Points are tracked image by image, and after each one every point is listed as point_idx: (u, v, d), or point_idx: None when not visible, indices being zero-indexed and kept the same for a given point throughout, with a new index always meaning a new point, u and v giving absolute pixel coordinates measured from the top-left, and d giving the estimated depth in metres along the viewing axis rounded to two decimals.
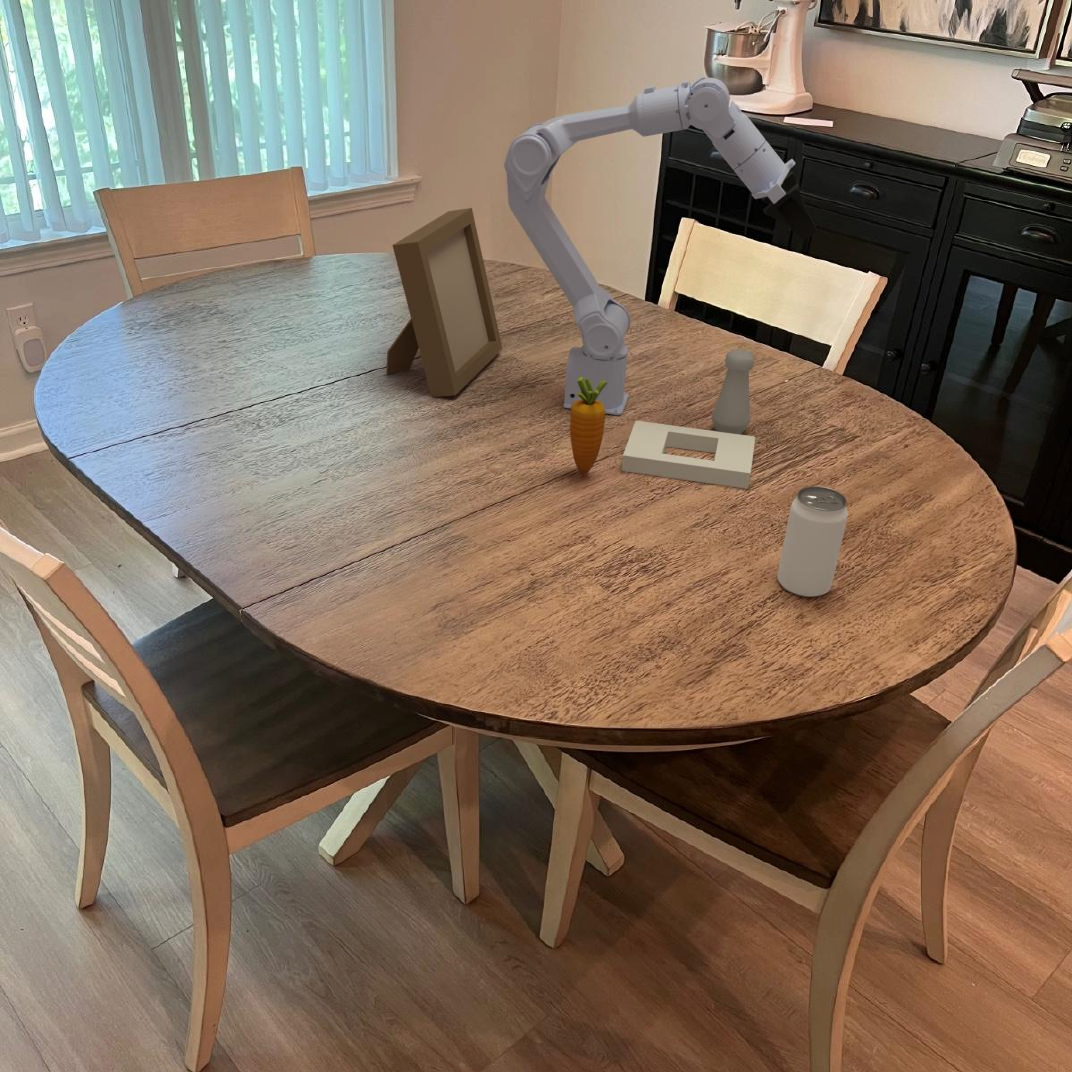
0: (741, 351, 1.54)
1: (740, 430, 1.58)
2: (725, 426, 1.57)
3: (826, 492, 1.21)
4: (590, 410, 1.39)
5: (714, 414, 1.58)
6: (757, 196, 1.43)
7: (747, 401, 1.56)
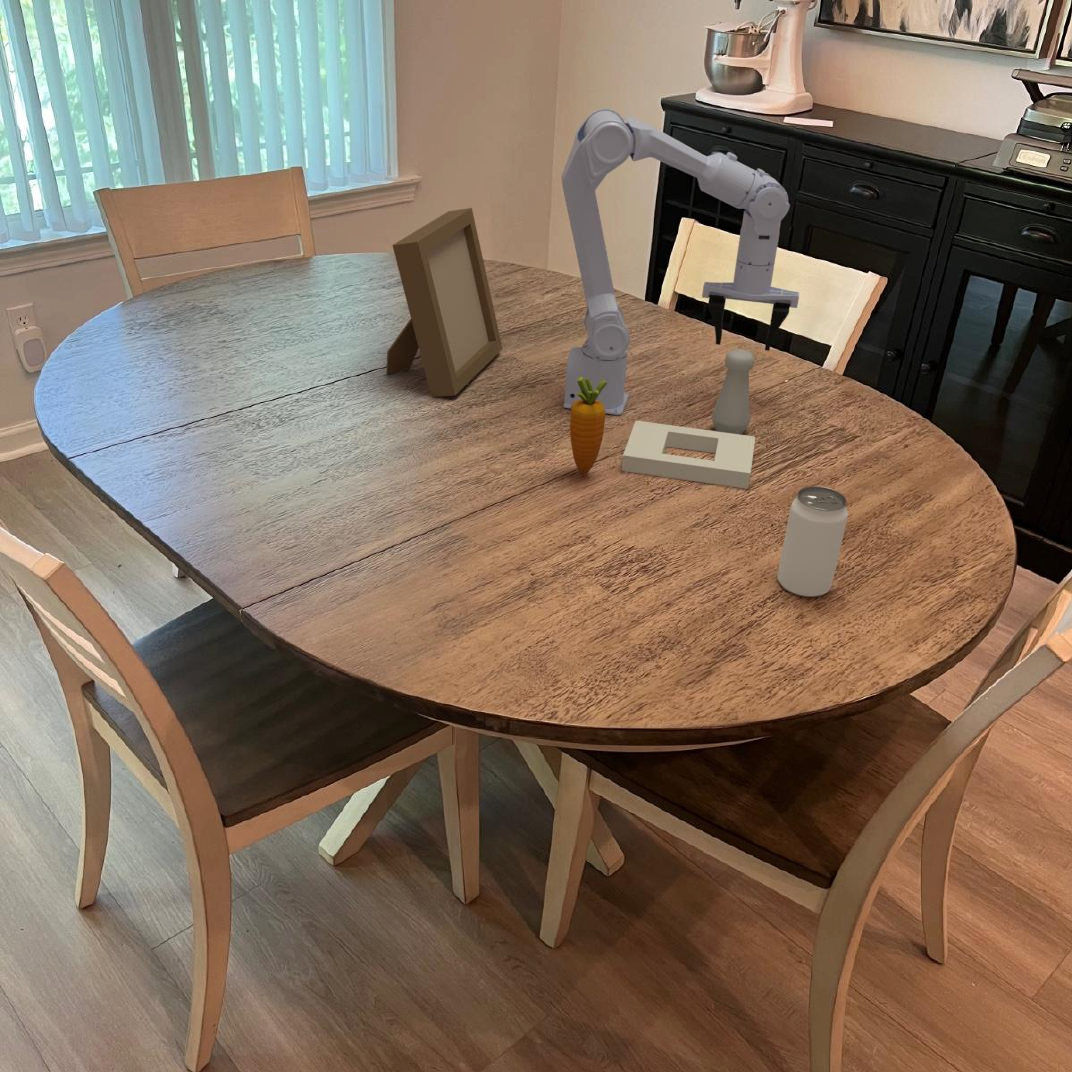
0: (741, 351, 1.54)
1: (740, 430, 1.58)
2: (725, 426, 1.57)
3: (826, 492, 1.21)
4: (590, 410, 1.39)
5: (714, 414, 1.58)
6: (765, 298, 1.56)
7: (747, 401, 1.56)
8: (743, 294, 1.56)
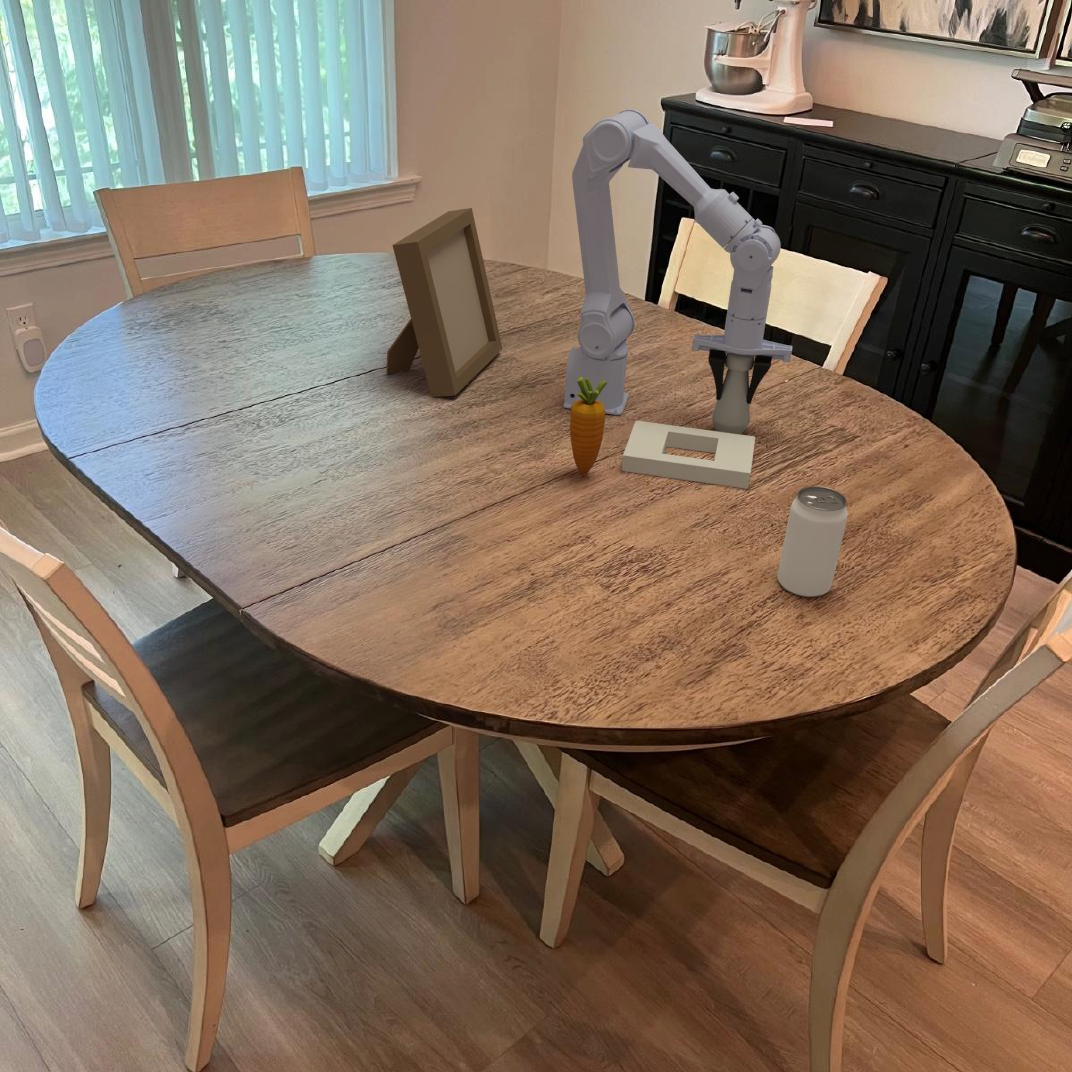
0: None
1: (740, 430, 1.58)
2: (725, 426, 1.57)
3: (826, 492, 1.21)
4: (590, 410, 1.39)
5: (714, 414, 1.58)
6: (757, 352, 1.51)
7: None
8: (734, 348, 1.51)
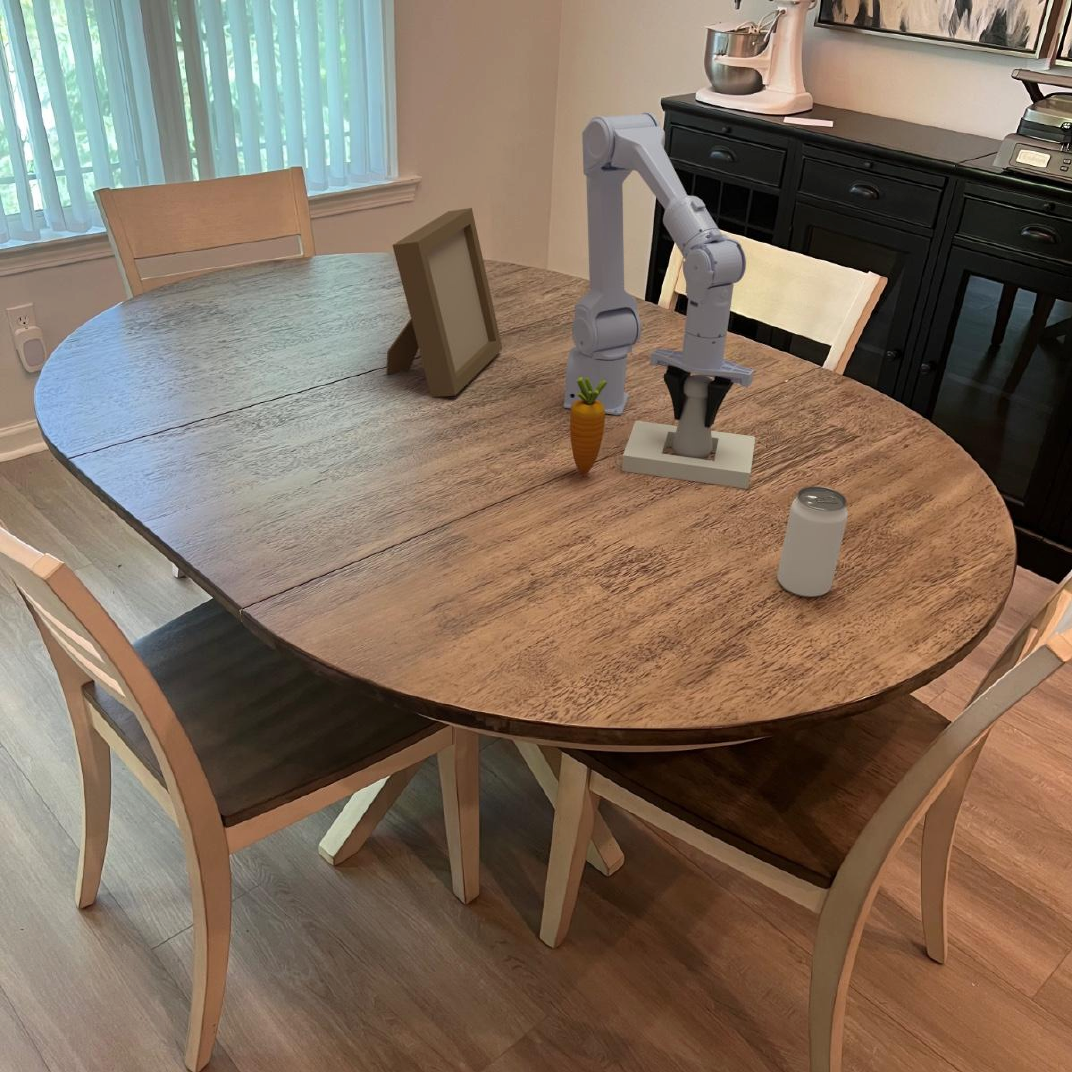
0: (701, 377, 1.45)
1: None
2: (681, 454, 1.48)
3: (826, 492, 1.21)
4: (590, 411, 1.39)
5: (673, 441, 1.50)
6: (711, 373, 1.41)
7: (705, 431, 1.47)
8: (687, 366, 1.41)
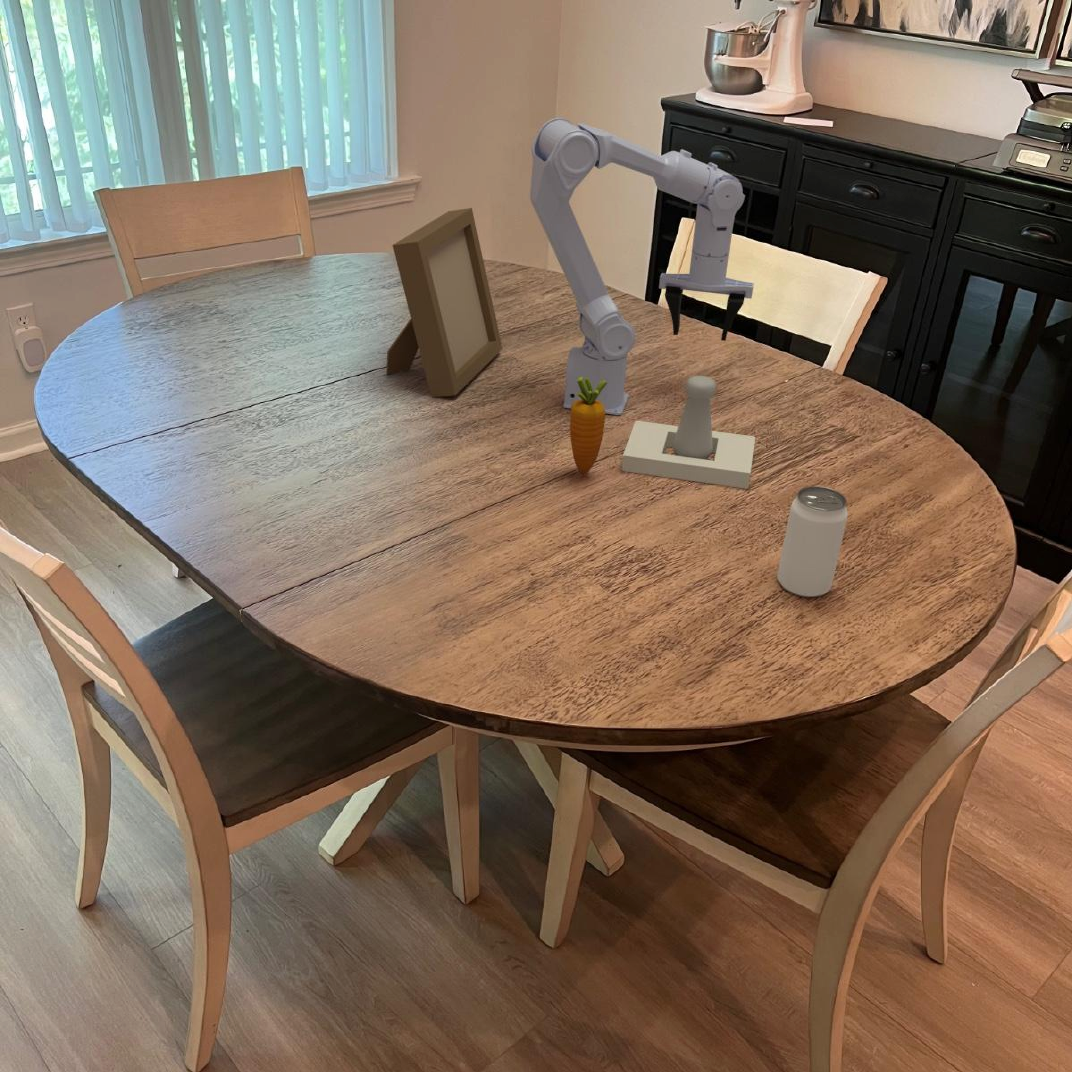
0: (703, 378, 1.45)
1: None
2: (681, 455, 1.48)
3: (826, 492, 1.21)
4: (590, 410, 1.39)
5: (674, 441, 1.50)
6: (720, 288, 1.59)
7: (706, 432, 1.47)
8: (698, 285, 1.59)
